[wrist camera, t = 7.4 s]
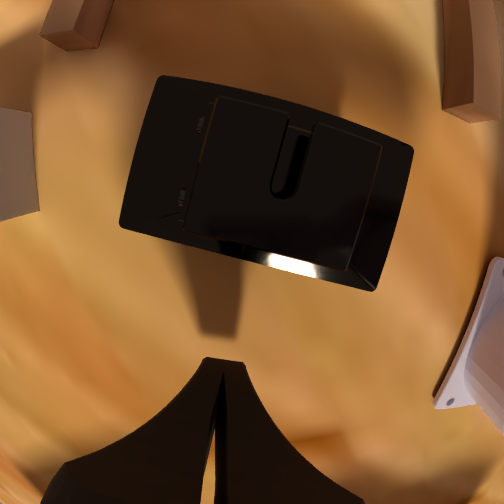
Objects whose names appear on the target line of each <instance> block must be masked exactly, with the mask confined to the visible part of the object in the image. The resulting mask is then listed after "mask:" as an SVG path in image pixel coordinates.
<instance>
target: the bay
mask: <svg viewBox="0 0 504 504" xmlns="http://www.w3.org/2000/svg"><path fill="white" fill-rule="evenodd" d="M113 2H114V0H53V1H52V4H51V6H50V8H49V11H48V13H47V16H46V19H45V21H44V24H43V27H42V29H41V32H40V35H39V36H41V37H43V38H44V39H46V40H48V41H50V42H52V43H53V44H55V45H57V46H59V47H60V48H62V49H64V50H65V51H71V50H80V49H90V48H98V46H99V42H100V39H101V36H102V33H103V30H104V27H105V24H106V21H107V18H108V15H109V13H110V10H111V7H112V4H113ZM442 2H443V16H444V42H445V65H444V92H443V107H442V110H443V111H446V112H448V113H450V114H452V115H454V116H456V117H458V118H460V119H462V120H464V121H466V122H468V123H476V122H483V121H492V120H500V119H502V73H501V56H500V45H499V35H498V28H497V20H496V14H495V8H494V3H493V0H442Z"/></svg>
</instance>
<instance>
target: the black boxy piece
mask: <svg viewBox="0 0 504 504" xmlns="http://www.w3.org/2000/svg"><path fill="white" fill-rule="evenodd" d="M413 154H414V149H413V147H412V146H410V145H408V144H406V143H404V142H401V141H399V140H397V139H394V138H392V137H390V136H387V135H385V134H382V133H380V132H377V131H375V130H372V129H370V128H367V127H365V126H362V125H359V124H357V123H354V122H351V121H348V120H346V119H343V118H340V117H337V116H334V115H331V114H328V113H325V112H322V111H319V110H316V109H313V108H310V107H306V106H303V105H300V104H296V103H293V102H289V101H286V100H282V99H279V98H275V97H271V96H267V95H263V94H259V93H255V92H251V91H247V90H243V89H238V88H234V87H229V86H224V85H219V84H214V83H209V82H203V81H198V80H192V79H186V78H179V77H172V76H165V75H162V76H160V77H159V78H158V79H157V81H156V84H155V87H154V90H153V93H152V96H151V99H150V102H149V105H148V108H147V111H146V115H145V118H144V121H143V125H142V128H141V131H140V135H139V138H138V142H137V146H136V149H135V153H134V157H133V161H132V165H131V169H130V173H129V177H128V181H127V185H126V190H125V194H124V199H123V204H122V208H121V213H120V218H119V225H120V227H121V228H124V229H127V230H131V231H135V232H139V233H143V234H146V235H150V236H154V237H158V238H162V239H165V240H169V241H173V242H177V243H181V244H184V245H188V246H192V247H196V248H200V249H204V250H208V251H211V252H215V253H219V254H223V255H227V256H231V257H235V258H239V259H243V260H246V261H250V262H254V263H258V264H262V265H266V266H270V267H274V268H278V269H282V270H286V271H290V272H294V273H298V274H302V275H306V276H310V277H314V278H318V279H322V280H326V281H330V282H334V283H338V284H342V285H346V286H350V287H354V288H358V289H362V290H366V291H370V292H372V291H374V290H375V289H376V288H377V285H378V282H379V279H380V276H381V273H382V270H383V267H384V264H385V261H386V258H387V255H388V251H389V248H390V245H391V241H392V238H393V235H394V231H395V228H396V224H397V221H398V217H399V213H400V210H401V206H402V202H403V198H404V194H405V190H406V186H407V182H408V177H409V173H410V169H411V164H412V159H413Z"/></svg>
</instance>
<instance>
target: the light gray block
mask: <svg viewBox="0 0 504 504" xmlns="http://www.w3.org/2000/svg"><path fill="white" fill-rule="evenodd" d="M36 211H40V208H39V202H38V194H37V186H36V177H35V167H34V154H33V136H32V113H30V112H25V111H20V110H14V109H8V108H2V107H0V222H1V221H4V220H7V219H11V218H14V217H18V216H22V215H25V214H29V213H32V212H36Z"/></svg>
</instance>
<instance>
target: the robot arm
mask: <svg viewBox="0 0 504 504" xmlns="http://www.w3.org/2000/svg"><path fill="white" fill-rule="evenodd" d="M503 269H504V258H501V257H495V258H493V259H492V260H491V262H490V264H489V267H488V270H487V273H486V277H485V280H484V283H483V286H482V289H481V292H480V295H479V298H478V301H477V304H476V307H475V310H474V312H473V315H472V318H471V320H470V323H469V325H468V328H467V330H466V333H465V335H464V338H463V340H462V342H461V345H460V347H459V349H458V351H457V354H456V356H455V358H454V360H453V362H452V365H451V367H450V369H449V371H448V373H447V375H446V377H445V379H444V381H443V383H442V385H441V387H440V389H439V390H438V392H437V394H436V396H435V398H434V400H433V405H434V407H435V408H436V409H447V408H455V407H462V406H468V405H474V404H478V405H479V407H480V408H481V409H482V410H483V411H484V413H485V414H486V415H487V416H488V418H489V419H490V420H491V421H492V422H493V424H494V425H495V426H496V427H497V429H498V430H499V431H500V432H501V434H502V435H503V436H504V270H503ZM214 430H215V496H214V504H365V503H364V500H363V499H361V498H360V497H358V496H356V495H355V494H353V493H351V492H349V491H348V490H346V489H344V488H343V487H341V486H339V485H338V484H336V483H335V482H333V481H332V480H331V479H329V478H328V477H327V476H325V475H324V474H323V473H321V472H320V471H319V470H317V469H316V468H315V467H314V466H313V465H312V464H311V463H310V462H309V461H307V460H306V459H305V458H304V457H303V456H302V455H301V454H300V453H299V452H298V451H297V450H296V449H295V448H294V447H293V446H292V445H291V443H290V442H289V441H288V440H287V439H286V438H285V436H284V435H283V434H282V433H281V431H280V430H279V429H278V427H277V426H276V425H275V423H274V422H273V420H272V419H271V417H270V416H269V414H268V413H267V411H266V409H265V408H264V406H263V404H262V402H261V401H260V399H259V397H258V395H257V393H256V391H255V389H254V387H253V385H252V382H251V380H250V378H249V375H248V372H247V369H246V366H245V364H244V363H243V362H237V361H230V360H223V359H217V358H210V357H206V358H204V359H203V360H202V362H201V364H200V366H199V368H198V369H197V371H196V372H195V374H194V375H193V376H192V378H191V379H190V380H189V382H188V383H187V384H186V385H185V386H184V388H183V389H182V390H181V391H180V392H179V393H178V394H177V395H176V396H175V398H174V399H173V400H172V401H171V402H170V403H169V404H168V405H167V406H166V407H164V408H163V409H162V410H161V411H160V412H159V413H158V414H157V415H155V416H154V417H153V418H152V419H150V420H149V421H148V422H146V423H145V424H144V425H142V426H141V427H139V428H138V429H136V430H135V431H134V432H132V433H130V434H129V435H127V436H125V437H124V438H122V439H120V440H118V441H116V442H114V443H112V444H110V445H109V446H107V447H105V448H103V449H101V450H98V451H96V452H94V453H91V454H88V455H86V456H83V457H80V458H77V459H75V460H72V461H69V462H65V463H64V464H63V466H62V467H61V468H60V470H59V471H58V472H57V474H56V475H55V476H54V478H53V479H52V481H51V482H50V484H49V486H48V488H47V490H46V492H45V494H44V496H43V498H42V500H41V503H40V504H200V502H201V493H202V484H203V476H204V472H205V468H206V464H207V459H208V455H209V451H210V447H211V442H212V438H213V434H214Z"/></svg>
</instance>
